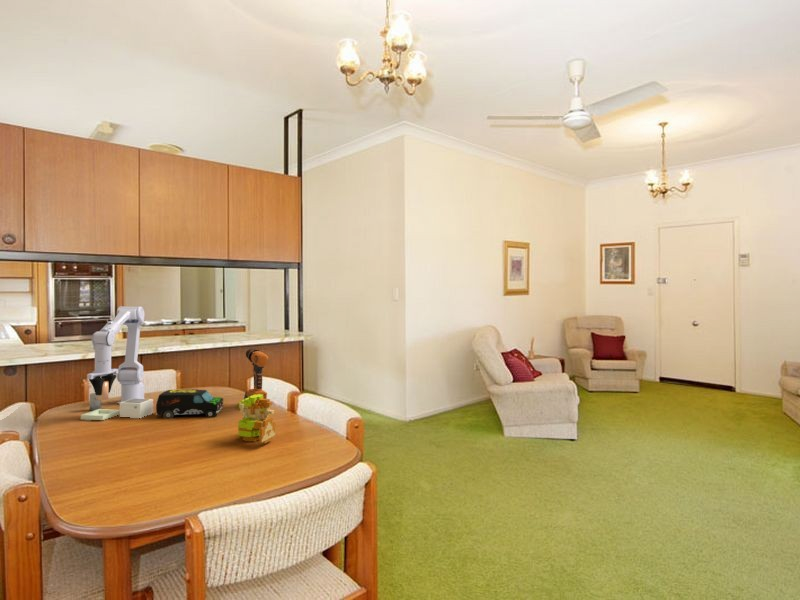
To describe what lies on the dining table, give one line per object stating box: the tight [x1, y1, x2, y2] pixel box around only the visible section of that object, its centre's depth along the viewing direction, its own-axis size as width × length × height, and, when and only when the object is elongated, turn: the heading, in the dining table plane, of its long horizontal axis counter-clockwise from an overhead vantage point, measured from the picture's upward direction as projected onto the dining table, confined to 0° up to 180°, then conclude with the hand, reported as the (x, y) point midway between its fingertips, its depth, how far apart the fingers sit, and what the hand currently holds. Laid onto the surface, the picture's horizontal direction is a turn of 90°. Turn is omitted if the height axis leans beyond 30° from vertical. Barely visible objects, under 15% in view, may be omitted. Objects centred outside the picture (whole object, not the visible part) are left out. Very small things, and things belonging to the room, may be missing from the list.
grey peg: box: [89, 392, 102, 412], centre depth 200 cm, size 4×4×7 cm
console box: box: [119, 398, 154, 419], centre depth 192 cm, size 8×9×6 cm
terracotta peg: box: [97, 381, 109, 401], centre depth 191 cm, size 4×4×7 cm
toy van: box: [155, 389, 224, 419], centre depth 195 cm, size 11×25×10 cm, turn 98°
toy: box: [237, 394, 276, 444], centre depth 164 cm, size 15×14×15 cm
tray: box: [80, 408, 120, 421], centre depth 189 cm, size 10×10×2 cm
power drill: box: [243, 348, 270, 400], centre depth 213 cm, size 22×7×25 cm, turn 35°
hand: (102, 393), depth 191 cm, fingers closed on terracotta peg, 4 cm apart
